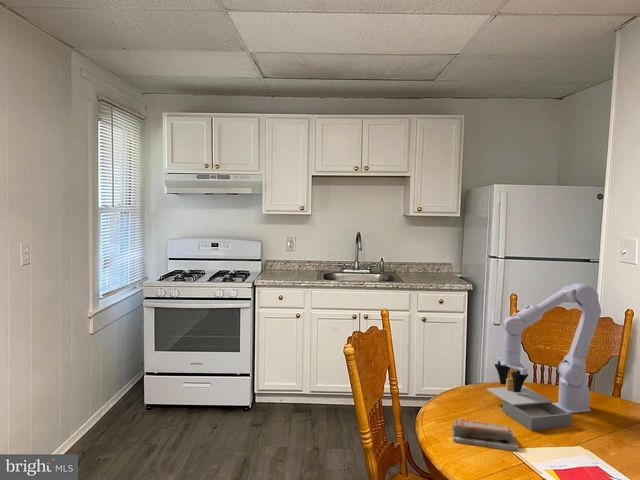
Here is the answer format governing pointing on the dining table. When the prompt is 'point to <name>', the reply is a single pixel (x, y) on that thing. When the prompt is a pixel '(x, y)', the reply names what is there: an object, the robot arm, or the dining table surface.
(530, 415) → the carton
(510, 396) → the carton lid
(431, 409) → the dining table surface
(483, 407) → the dining table surface
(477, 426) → the packaged product
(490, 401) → the dining table surface
